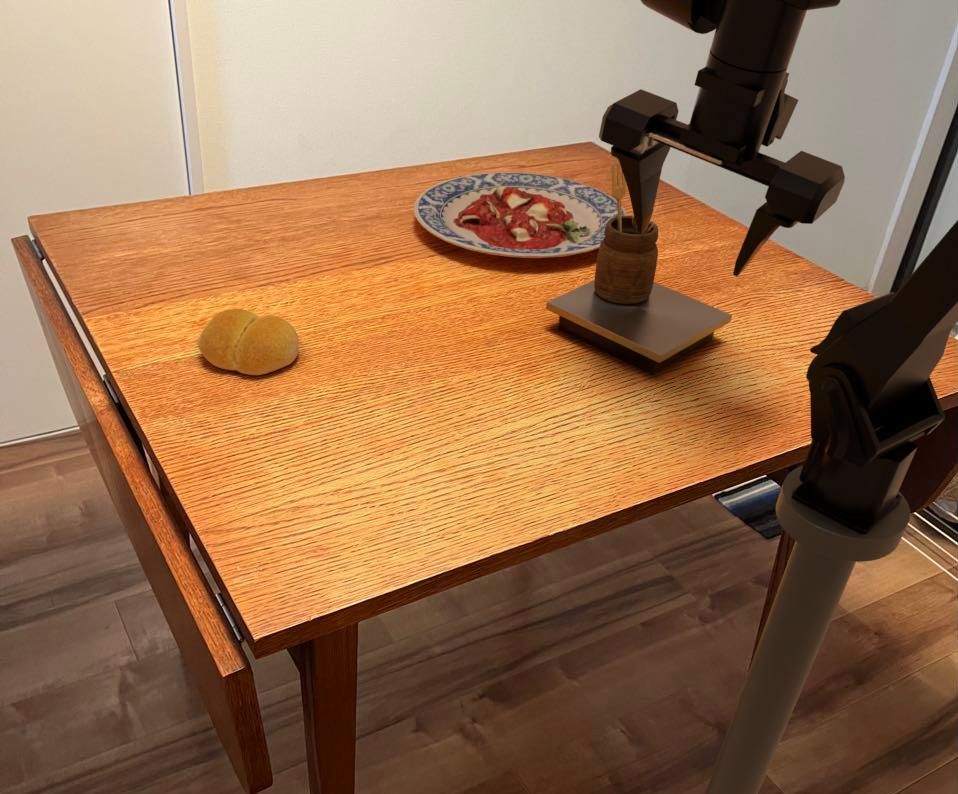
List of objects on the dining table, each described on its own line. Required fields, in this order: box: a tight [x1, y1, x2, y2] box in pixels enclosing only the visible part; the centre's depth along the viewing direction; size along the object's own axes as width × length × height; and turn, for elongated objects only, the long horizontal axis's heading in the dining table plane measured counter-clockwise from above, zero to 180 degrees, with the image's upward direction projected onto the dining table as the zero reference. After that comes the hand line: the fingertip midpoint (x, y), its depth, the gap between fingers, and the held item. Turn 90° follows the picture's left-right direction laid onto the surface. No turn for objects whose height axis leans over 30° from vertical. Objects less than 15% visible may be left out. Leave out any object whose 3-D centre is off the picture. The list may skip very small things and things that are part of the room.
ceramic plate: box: [413, 171, 628, 259], centre depth 111 cm, size 26×26×3 cm
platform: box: [545, 279, 733, 376], centre depth 92 cm, size 14×12×3 cm
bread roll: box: [197, 307, 300, 376], centre depth 85 cm, size 8×9×4 cm
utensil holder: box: [594, 161, 662, 304], centre depth 89 cm, size 6×6×12 cm
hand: (688, 252), depth 78 cm, fingers open, 9 cm apart
